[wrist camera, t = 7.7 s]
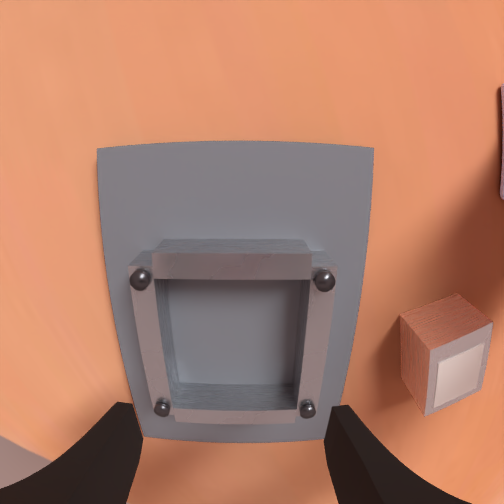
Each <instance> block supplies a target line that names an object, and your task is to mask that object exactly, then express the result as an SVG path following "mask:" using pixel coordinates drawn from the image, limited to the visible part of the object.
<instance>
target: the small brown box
mask: <svg viewBox="0 0 504 504" xmlns="http://www.w3.org/2000/svg"><path fill="white" fill-rule="evenodd" d="M492 327H493V321H491V320H490V319H489V318H488V317H487V316H485V315H484V314H483V313H482V312H480V311H479V310H478V309H477V308H475V307H474V306H473V305H472V304H470V303H469V302H468V301H467V300H465V299H464V298H463V297H462V296H460V295H459V294H458V293H455V294H453V295H450V296H448V297H445V298H443V299H440V300H437V301H435V302H432V303H429V304H427V305H424V306H421V307H418V308H416V309H413V310H410V311H407V312H404V313H401V314H400V336H401V379H402V380H403V382H404V384H405V385H406V387H407V389H408V390H409V392H410V394H411V395H412V397H413V399H414V400H415V402H416V404H417V405H418V407H419V409H420V410H421V412H422V414H423V415H424V417H425V416H427V415H430V414H432V413H434V412H436V411H439V410H441V409H443V408H445V407H447V406H450V405H452V404H454V403H456V402H458V401H460V400H462V399H464V398H466V397H468V396H470V395H472V394H474V393H476V392H478V391H479V390H481V388H482V383H483V379H484V374H485V369H486V364H487V359H488V353H489V348H490V341H491V335H492Z"/></svg>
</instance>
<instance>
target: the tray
mask: <svg viewBox="0 0 504 504" xmlns="http://www.w3.org/2000/svg"><path fill="white" fill-rule="evenodd" d="M373 160H374V148H370V147H360V146H348V145H336V144H322V143H304V142H280V141H196V142H172V143H155V144H141V145H128V146H117V147H107V148H98V149H97V170H98V191H99V206H100V219H101V229H102V239H103V248H104V256H105V264H106V272H107V279H108V285H109V292H110V298H111V304H112V309H113V315H114V320H115V325H116V330H117V335H118V340H119V345H120V349H121V354H122V358H123V362H124V367H125V371H126V375H127V379H128V383H129V386H130V390H131V394H132V398H133V401H134V405H135V408H136V412H137V415H138V418H139V422H140V425H141V428H142V431H143V434H144V436H145V437H153V438H162V439H172V440H183V441H198V442H220V443H270V442H292V441H306V440H318V439H324V438H325V434H326V430H327V426H328V421H329V417H330V413H331V408H332V406H340V402H341V397H342V393H343V389H344V384H345V380H346V375H347V370H348V365H349V361H350V356H351V350H352V345H353V340H354V334H355V329H356V323H357V317H358V311H359V304H360V298H361V291H362V284H363V276H364V269H365V260H366V252H367V243H368V233H369V222H370V210H371V197H372V181H373Z"/></svg>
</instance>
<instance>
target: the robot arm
mask: <svg viewBox="0 0 504 504" xmlns="http://www.w3.org/2000/svg"><path fill="white" fill-rule="evenodd" d="M501 95H502V116H503V151H502V173H501V186H500V196H501V198H502V199H503V200H504V84H502V86H501ZM142 443H143V436H142V433H141V430H140V427H139V424H138V421H137V418H136V414H135V411H134V408H133V404H131V403H123V402H117V403H115V404H114V405H113V406H112V407H111V409H110V410H109V411H108V412H107V413H106V414H105V415H104V416H103V417H102V418H101V419H100V420H99V421H98V422H97V423H96V424H95V425H94V426H93V427H92V428H91V429H90V430H89V431H88V432H87V433H86V434H85V435H84V436H83V437H82V438H81V439H80V440H79V441H78V442H76V443H75V444H74V445H73V446H72V447H71V448H70V449H68V450H67V451H66V452H65V453H64V454H62V455H61V456H60V457H59V458H57V459H56V460H55V461H53V462H52V463H50V464H49V465H47V466H46V467H44V468H43V469H41V470H39V471H38V472H36V473H34V474H32V475H31V476H29V477H27V478H25V479H23V480H21V481H19V482H16V483H14V484H12V485H9V486H7V487H4V488H1V489H0V504H126V501H127V498H128V495H129V492H130V489H131V486H132V482H133V479H134V476H135V473H136V470H137V467H138V463H139V460H140V454H141V449H142ZM324 446H325V454H326V460H327V465H328V469H329V472H330V476H331V479H332V483H333V486H334V489H335V493H336V496H337V500H338V503H339V504H471V503H469V502H466V501H463V500H461V499H459V498H456V497H454V496H452V495H450V494H448V493H446V492H444V491H442V490H440V489H439V488H437V487H435V486H434V485H432V484H430V483H428V482H427V481H425V480H424V479H422V478H421V477H419V476H418V475H417V474H415V473H414V472H413V471H411V470H410V469H409V468H408V467H406V466H405V465H404V464H403V463H402V462H400V461H399V460H398V459H397V458H396V457H395V456H394V455H393V454H392V453H391V452H390V451H389V450H388V449H387V448H386V447H385V446H384V445H383V444H382V443H381V442H380V441H379V440H378V439H377V438H376V437H375V436H374V435H373V434H372V433H371V431H370V430H369V429H368V428H367V427H366V426H365V424H364V423H363V422H362V421H361V420H360V418H359V417H358V416H357V415H356V413H355V412H354V411H353V410H352V408H351V407H350V406H349V405H342V406H332V408H331V413H330V417H329V421H328V426H327V430H326V434H325V438H324Z"/></svg>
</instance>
